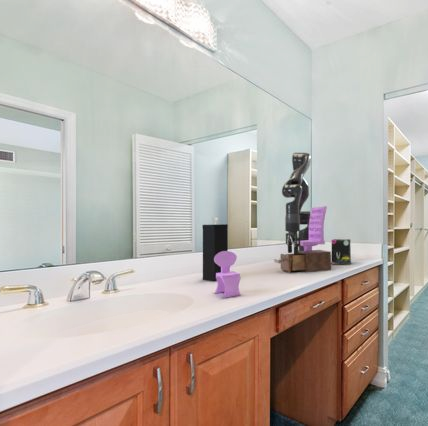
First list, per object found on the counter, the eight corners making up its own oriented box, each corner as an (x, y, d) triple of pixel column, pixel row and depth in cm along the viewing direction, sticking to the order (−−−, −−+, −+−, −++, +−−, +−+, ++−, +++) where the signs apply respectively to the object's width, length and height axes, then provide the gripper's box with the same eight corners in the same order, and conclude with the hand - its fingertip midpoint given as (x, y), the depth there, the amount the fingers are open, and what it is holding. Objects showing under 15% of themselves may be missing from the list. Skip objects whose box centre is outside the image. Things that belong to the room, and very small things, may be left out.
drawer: (280, 272, 136) (279, 256, 136) (272, 269, 146) (272, 254, 146) (313, 269, 143) (312, 254, 144) (303, 266, 154) (303, 252, 154)
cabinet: (306, 272, 141) (305, 253, 141) (296, 268, 152) (296, 251, 153) (331, 269, 147) (330, 251, 148) (319, 266, 159) (319, 249, 159)
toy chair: (220, 298, 92) (220, 253, 93) (211, 293, 99) (211, 251, 100) (243, 294, 97) (243, 251, 98) (234, 290, 104) (233, 249, 105)
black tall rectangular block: (228, 278, 128) (227, 217, 129) (214, 281, 121) (214, 217, 122) (216, 276, 132) (215, 217, 133) (202, 279, 125) (202, 217, 126)
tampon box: (331, 264, 167) (331, 239, 168) (333, 262, 176) (333, 239, 177) (349, 264, 165) (349, 239, 165) (351, 262, 174) (350, 239, 174)
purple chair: (291, 263, 171) (291, 207, 173) (315, 261, 180) (315, 207, 181) (303, 266, 158) (302, 205, 160) (328, 264, 167) (327, 206, 168)
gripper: (304, 222, 141) (305, 254, 140) (293, 222, 154) (294, 251, 153) (291, 222, 138) (291, 255, 137) (280, 222, 151) (281, 252, 150)
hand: (292, 253), depth 145 cm, fingers open, 7 cm apart
